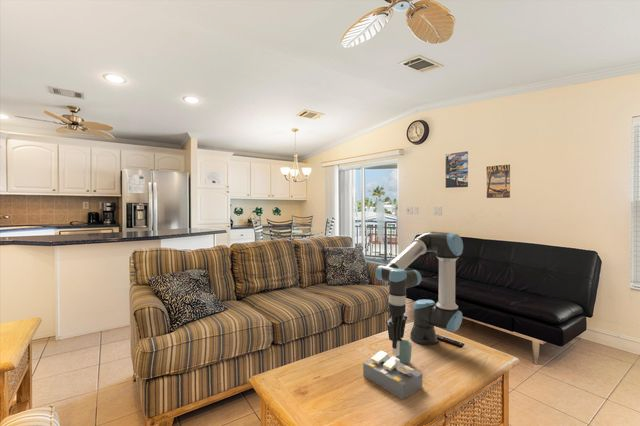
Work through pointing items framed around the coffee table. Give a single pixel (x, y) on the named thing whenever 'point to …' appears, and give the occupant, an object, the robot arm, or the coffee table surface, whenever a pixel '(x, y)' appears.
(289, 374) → the coffee table surface
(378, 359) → the rocker
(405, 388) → the console
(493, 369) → the coffee table surface
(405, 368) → the block
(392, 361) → the rocker
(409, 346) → the cup
